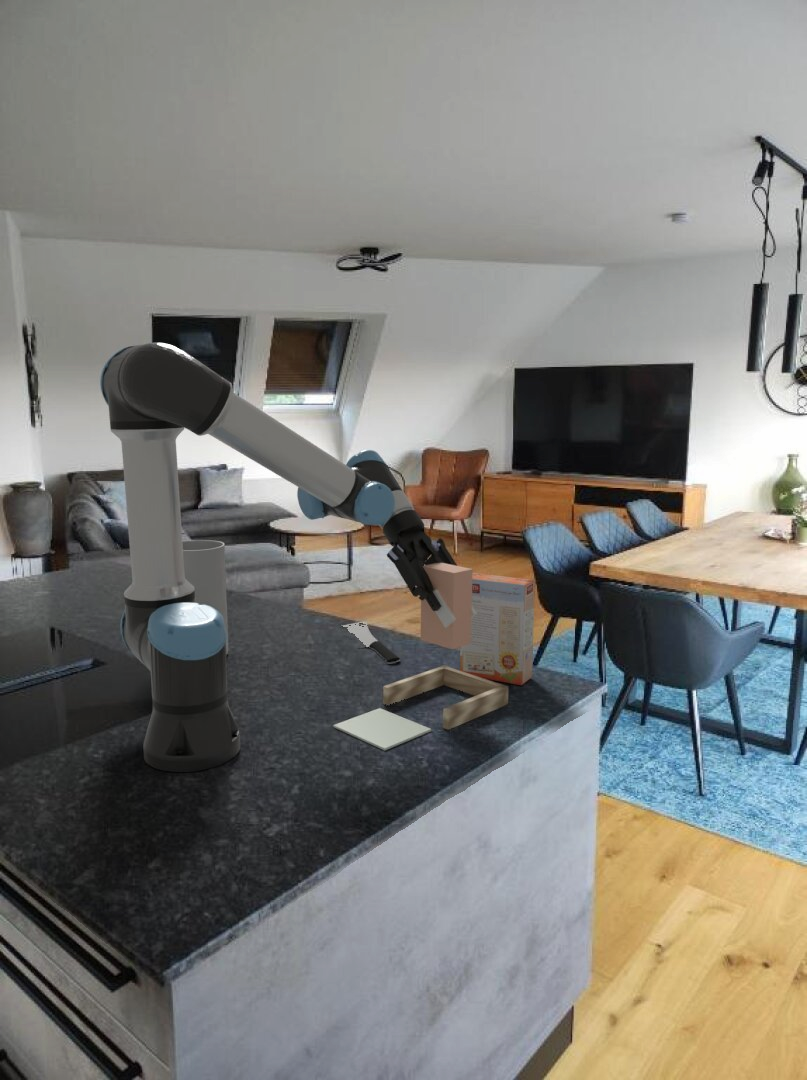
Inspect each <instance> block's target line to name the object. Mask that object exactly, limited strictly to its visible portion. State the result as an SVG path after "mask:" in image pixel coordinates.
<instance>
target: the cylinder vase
mask: <svg viewBox="0 0 807 1080" xmlns="http://www.w3.org/2000/svg"><path fill="white" fill-rule="evenodd" d="M182 543H183V559H184V574H185V579H186V580H187V581H188V582H189V583H191V584H192V585H193V586H194V589H195V603H199V604H200V605H208V606H211V607H213V608H215V609H216V610H218V611H219V612H220V614H221V615H222V617H223V619H224V627H225V629H226V656H227V655H228V654H229V632H228V627H229V626H228V606H227V605H228V604H227V601H228V600H227V575H226V549H225V546H226V545H225V542H223V541H219V540H210V539H208V540H206V539H193V540H182Z"/></svg>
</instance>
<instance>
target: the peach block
mask: <svg viewBox="0 0 807 1080" xmlns="http://www.w3.org/2000/svg"><path fill="white" fill-rule="evenodd" d="M423 568H424V569H425V571H426V573H427V574H428V576H429V579H430V581H431V584H432V587H433V591H434V590H437V589H438V591H439V592H440V594H441V596H442V597H443V599H444V600H445V602H446V604H447V605H448V607H449V608H450V610H451V612H452V613H453V615H454V616H455V618H456V620H455V621H454V622H453V623H452V624H451V625H450V626H449V627H447V628H445V627H444V625H443V624H442V622H441V620H440V619H439V617H438V616H437V614H436V612H435V611H433V610H432V609H431V607H430V606H429V604H428V602H427V601H426V599H424V600H420V640H421V641H423V642H427V643H430V644H432V645H433V644H434V645H436V646H440V647H443V648H446V649H450V650H455V649H460V647H462V646H465V645H468V644H471V613H472V577H473V573H474V569H473V568H470V567H469V568H468V567H465V566H460V565H457V566H455V565H450V564H446V563H434V564H429V565H424V566H423Z"/></svg>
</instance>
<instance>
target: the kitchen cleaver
mask: <svg viewBox="0 0 807 1080" xmlns="http://www.w3.org/2000/svg"><path fill="white" fill-rule="evenodd" d="M359 623H363V624H366V625H362V624H359ZM355 624H356V625H355ZM349 625H351V626H349ZM359 625H361V626H359ZM367 625H368V622H367V621H359V622H358V621H357V622H353V623H348V624H344V625H342V626H343V627H348V628H347V629H348V631H349V632H350V633H353V634H355V636H356V637H357V638H359V640H360V641H361V642H363V644H364V645H366V647H369V648H372V649H374V650H375V651H376V652H377V653H376V652H375V651H374V650H373V651H374V652H375V653H376V654H377V655H379V657H381V659H383V660H384V659H385V660H384V662H385V663H386V664H387V663H397V664H399V663H400V662H401V658H400V657H399V656H398V655H396V654H395V653H394V652H392V650H390V649H389V648H388V647H387V646H386V645H384V644H383V643H382V642H381V641H379V640H378V639H377V638H375V636H374V635H372V633H371V631H370V630H369V625H368V626H367ZM362 626H364V627H362ZM369 648H368V649H369ZM372 649H371V650H372ZM398 662H399V663H398Z"/></svg>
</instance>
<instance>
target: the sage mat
mask: <svg viewBox="0 0 807 1080" xmlns="http://www.w3.org/2000/svg"><path fill="white" fill-rule="evenodd" d="M333 728H334V729H336V730H339V731H341V732H343V733H346V734H348V735H350V736H352V737H354V738H356V739H359V740H360V741H363V742H365V743H367V744H369V745H372V746H373V747H376V748H378V749H380V750H382V751H384V752H385V751H388V750H390V749H392V748H394V747H397V746H399V745H401V744H404V743H406V742H408V741H411V740H413V739H416V738H418V737H420V736H423V735H425V734H428V733H430V732H432V729H431V728H430V727H427V726H425V725H422V724H420V723H417V722H416V721H412V720H411V719H408V718H406V717H405V718H404V717H403V716H400V715H399V714H398V715H397V714H395V713H392V712H391V711H388V710H385V709H383V708H381V707H379V708H377V709H373V710H371V711H369V712H365V713H362V714H360V715H357V716H354V717H351V718H350V719H347V720H343V721H341V722H338V723H335V724H333Z"/></svg>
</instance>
